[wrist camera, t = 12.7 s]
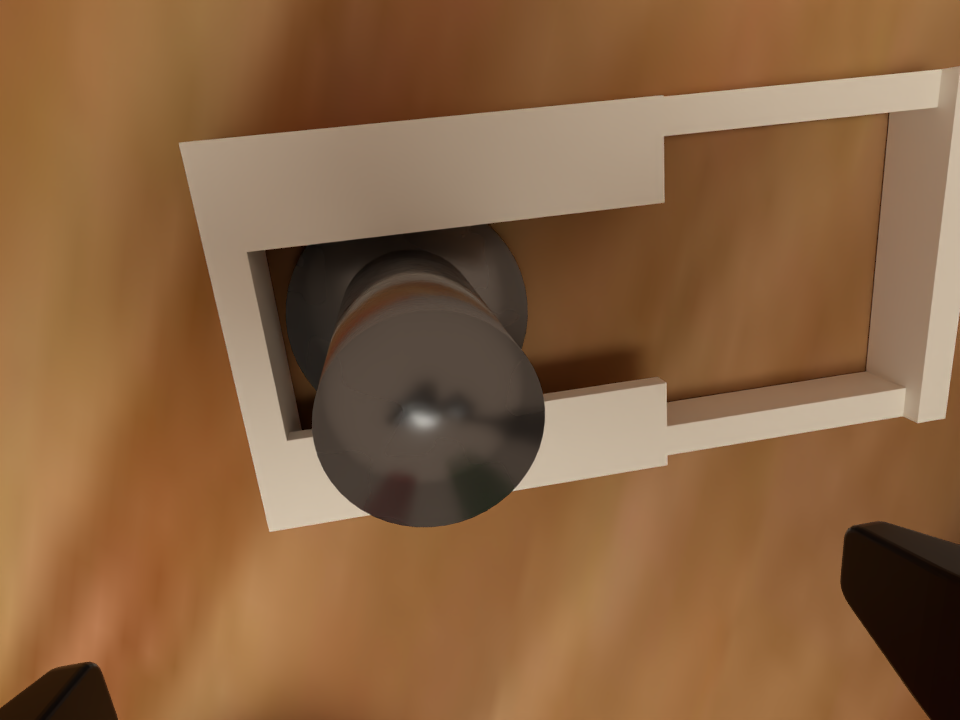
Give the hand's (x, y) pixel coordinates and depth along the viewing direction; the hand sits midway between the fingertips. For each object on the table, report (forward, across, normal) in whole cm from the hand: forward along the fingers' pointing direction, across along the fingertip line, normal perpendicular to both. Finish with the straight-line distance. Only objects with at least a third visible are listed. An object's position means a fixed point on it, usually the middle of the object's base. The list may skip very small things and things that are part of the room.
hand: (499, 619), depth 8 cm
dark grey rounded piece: (+13, 0, -1) cm, 13 cm away
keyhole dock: (+13, -5, -1) cm, 14 cm away
